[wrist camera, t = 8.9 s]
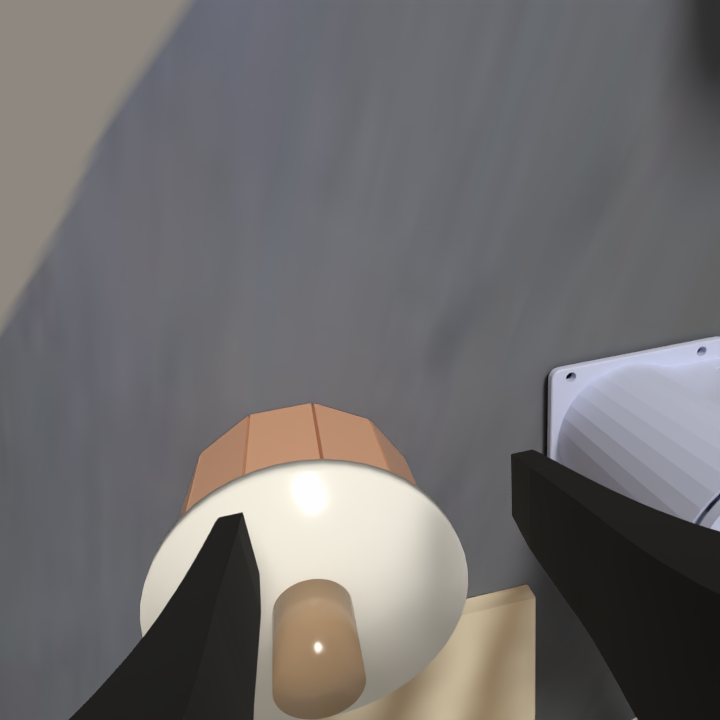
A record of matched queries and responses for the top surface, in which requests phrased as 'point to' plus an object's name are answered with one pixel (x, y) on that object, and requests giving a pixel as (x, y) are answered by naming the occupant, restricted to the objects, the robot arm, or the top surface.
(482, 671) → the board
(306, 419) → the bowl
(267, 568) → the lid
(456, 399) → the top surface
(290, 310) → the top surface
